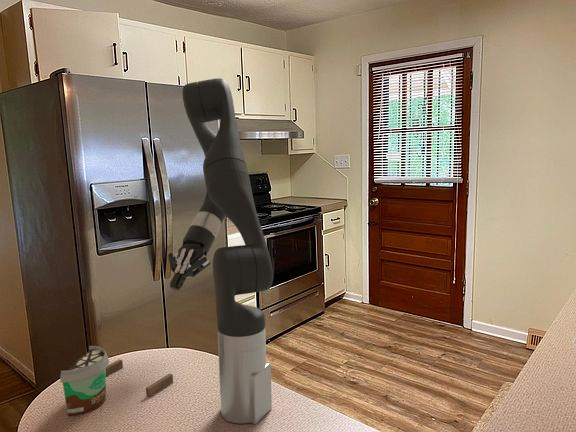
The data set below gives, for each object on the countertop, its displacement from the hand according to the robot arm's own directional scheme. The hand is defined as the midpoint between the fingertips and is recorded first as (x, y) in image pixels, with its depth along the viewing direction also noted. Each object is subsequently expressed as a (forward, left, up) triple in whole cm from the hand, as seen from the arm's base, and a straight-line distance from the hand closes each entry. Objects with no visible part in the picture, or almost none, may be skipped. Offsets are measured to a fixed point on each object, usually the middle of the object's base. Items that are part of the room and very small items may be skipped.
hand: (174, 288), depth 109 cm
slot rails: (0, +14, -18) cm, 23 cm away
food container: (+1, +24, -18) cm, 30 cm away
